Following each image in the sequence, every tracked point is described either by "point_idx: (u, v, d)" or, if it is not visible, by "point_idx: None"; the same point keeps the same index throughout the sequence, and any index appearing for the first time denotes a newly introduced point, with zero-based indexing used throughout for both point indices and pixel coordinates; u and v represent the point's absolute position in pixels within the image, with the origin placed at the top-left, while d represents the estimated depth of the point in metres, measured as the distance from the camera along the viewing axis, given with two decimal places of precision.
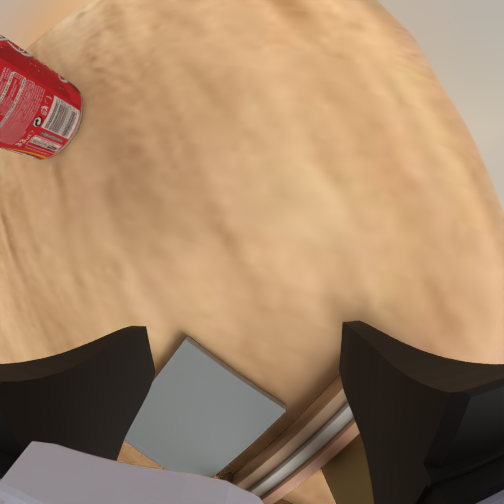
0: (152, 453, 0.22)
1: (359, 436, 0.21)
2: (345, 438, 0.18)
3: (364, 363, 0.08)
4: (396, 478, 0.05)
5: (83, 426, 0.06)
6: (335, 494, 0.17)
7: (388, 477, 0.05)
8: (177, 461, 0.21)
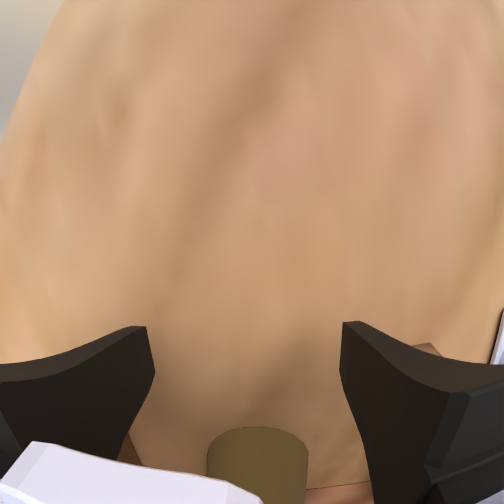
0: None
1: None
2: None
3: (364, 363, 0.08)
4: (396, 478, 0.05)
5: (83, 426, 0.06)
6: None
7: (388, 477, 0.05)
8: None
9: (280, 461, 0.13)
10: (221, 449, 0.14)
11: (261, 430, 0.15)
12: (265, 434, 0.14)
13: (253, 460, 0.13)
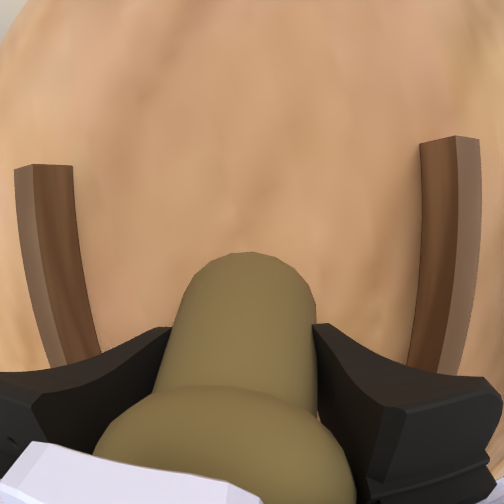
0: None
1: None
2: None
3: (326, 367, 0.08)
4: None
5: None
6: None
7: None
8: None
9: (277, 280, 0.11)
10: (197, 280, 0.12)
11: (251, 254, 0.13)
12: (257, 257, 0.13)
13: (239, 275, 0.11)
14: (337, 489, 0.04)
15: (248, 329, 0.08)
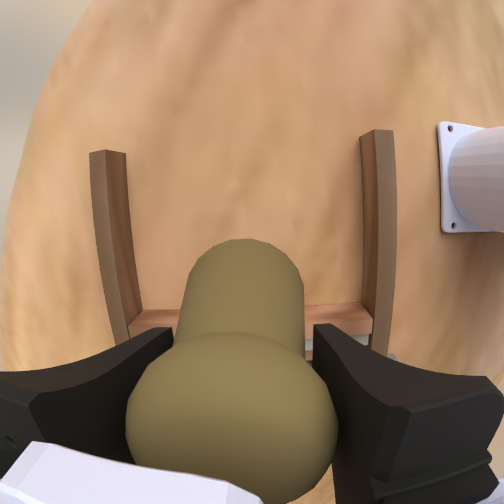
0: None
1: None
2: None
3: (328, 367, 0.08)
4: (351, 487, 0.05)
5: (117, 433, 0.06)
6: None
7: (345, 485, 0.05)
8: None
9: (272, 262, 0.13)
10: (202, 261, 0.14)
11: (249, 240, 0.15)
12: (254, 243, 0.15)
13: (240, 257, 0.13)
14: (323, 407, 0.06)
15: (251, 297, 0.10)
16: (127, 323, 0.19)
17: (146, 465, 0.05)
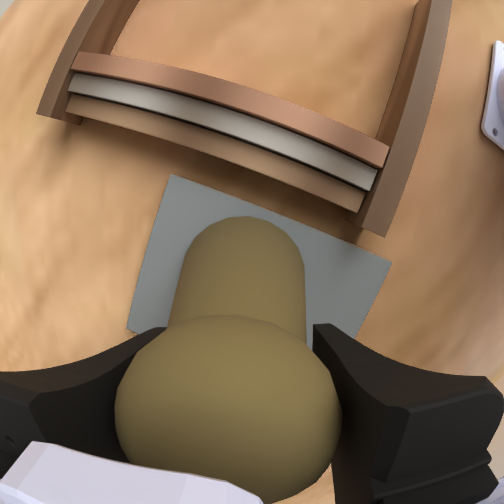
0: None
1: None
2: (161, 76, 0.12)
3: (328, 367, 0.08)
4: (350, 487, 0.05)
5: None
6: None
7: (345, 485, 0.05)
8: (337, 307, 0.16)
9: (271, 240, 0.13)
10: (199, 240, 0.14)
11: (248, 217, 0.14)
12: (253, 220, 0.14)
13: (237, 234, 0.12)
14: (326, 397, 0.05)
15: (248, 277, 0.09)
16: (80, 51, 0.12)
17: (137, 460, 0.05)
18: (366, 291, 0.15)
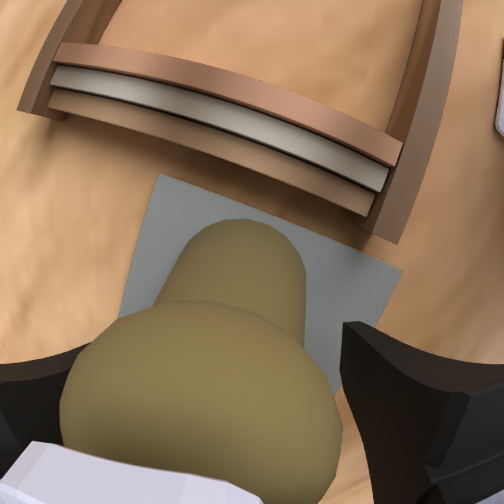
0: None
1: None
2: (148, 65, 0.10)
3: (364, 363, 0.08)
4: (396, 478, 0.05)
5: None
6: None
7: (388, 477, 0.05)
8: (342, 319, 0.14)
9: (268, 240, 0.11)
10: (191, 242, 0.13)
11: (244, 219, 0.13)
12: (250, 222, 0.13)
13: (231, 233, 0.11)
14: (319, 405, 0.04)
15: (236, 270, 0.08)
16: (63, 42, 0.10)
17: None
18: (374, 302, 0.14)
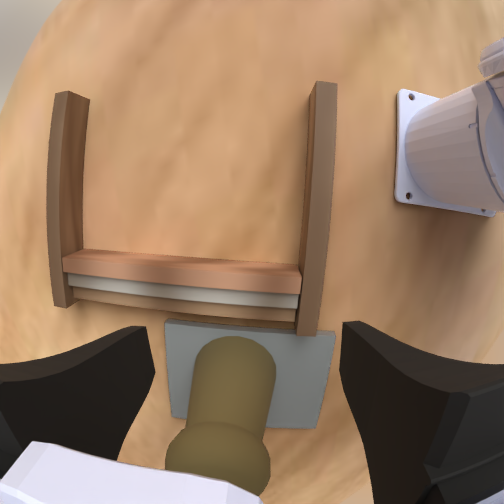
0: (313, 395, 0.22)
1: None
2: (130, 273, 0.18)
3: (364, 363, 0.08)
4: (396, 478, 0.05)
5: (83, 426, 0.06)
6: None
7: (388, 477, 0.05)
8: (305, 373, 0.21)
9: (237, 355, 0.19)
10: (197, 360, 0.20)
11: (224, 338, 0.21)
12: (227, 340, 0.21)
13: (216, 357, 0.19)
14: (245, 454, 0.11)
15: (219, 392, 0.16)
16: (62, 255, 0.18)
17: None
18: (323, 359, 0.21)
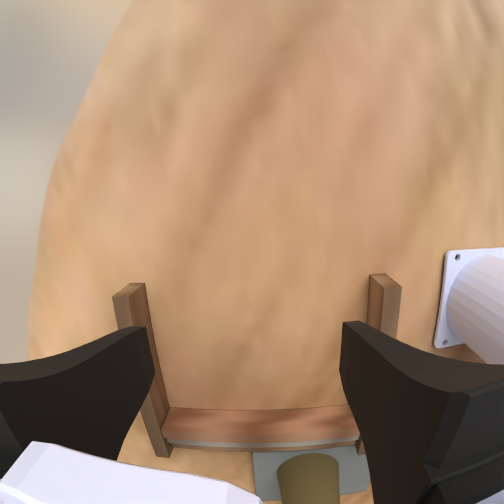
0: (365, 474, 0.24)
1: None
2: (229, 439, 0.21)
3: (364, 363, 0.08)
4: (396, 478, 0.05)
5: (83, 426, 0.06)
6: None
7: (388, 477, 0.05)
8: (359, 464, 0.24)
9: (315, 471, 0.21)
10: (282, 473, 0.23)
11: (301, 456, 0.23)
12: (304, 458, 0.23)
13: (299, 475, 0.21)
14: None
15: None
16: (160, 426, 0.21)
17: None
18: None
